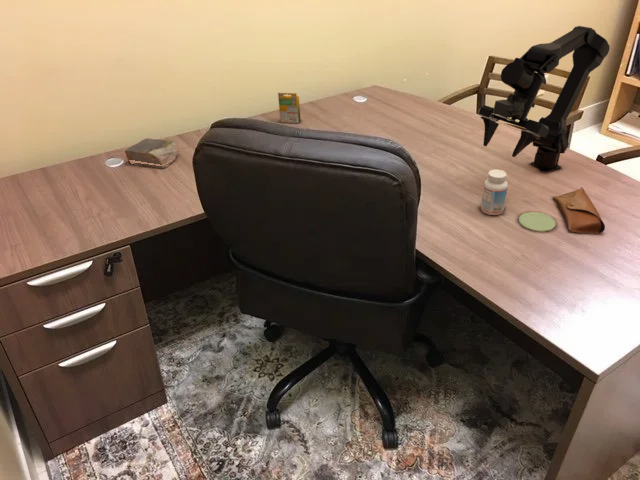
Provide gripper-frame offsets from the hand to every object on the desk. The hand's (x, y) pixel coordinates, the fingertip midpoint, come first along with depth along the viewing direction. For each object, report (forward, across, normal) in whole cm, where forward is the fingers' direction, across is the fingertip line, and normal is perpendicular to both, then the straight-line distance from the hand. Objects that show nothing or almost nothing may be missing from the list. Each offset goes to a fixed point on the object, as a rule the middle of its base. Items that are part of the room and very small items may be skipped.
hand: (498, 151), depth 144 cm
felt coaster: (+13, +17, +4) cm, 22 cm away
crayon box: (+17, -85, -2) cm, 87 cm away
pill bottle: (+15, +5, +1) cm, 16 cm away
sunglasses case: (+8, +21, +13) cm, 26 cm away
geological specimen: (+43, -90, -48) cm, 111 cm away
